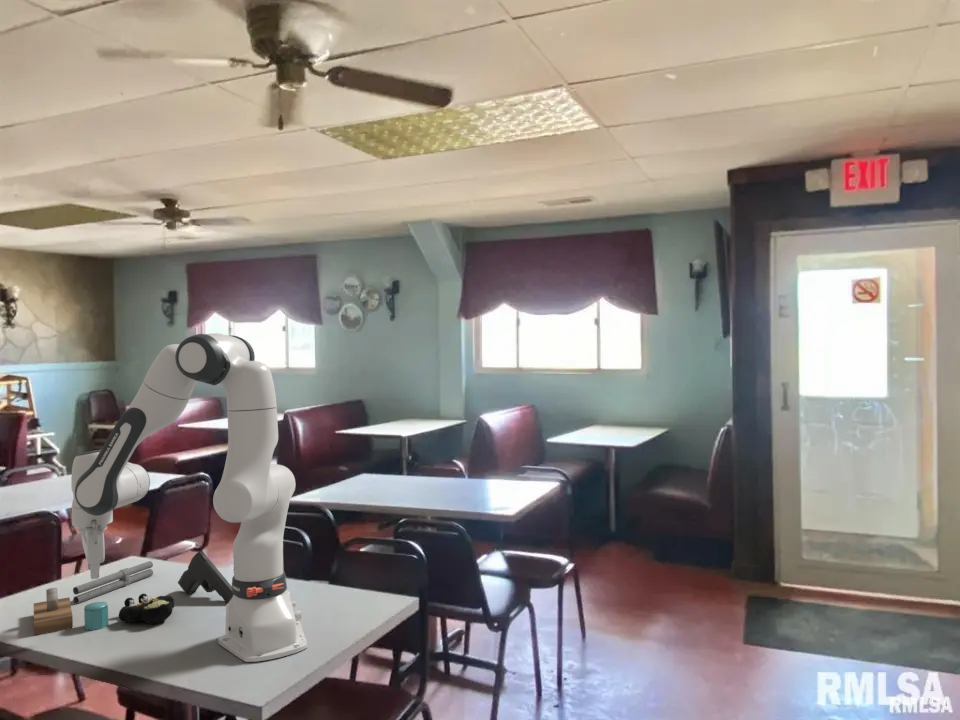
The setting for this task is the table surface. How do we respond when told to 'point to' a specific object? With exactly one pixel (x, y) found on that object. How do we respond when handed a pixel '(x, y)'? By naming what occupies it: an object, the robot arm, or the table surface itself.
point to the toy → (147, 609)
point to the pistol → (205, 577)
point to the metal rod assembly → (121, 575)
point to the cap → (96, 615)
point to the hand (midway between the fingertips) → (93, 572)
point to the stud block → (52, 613)
